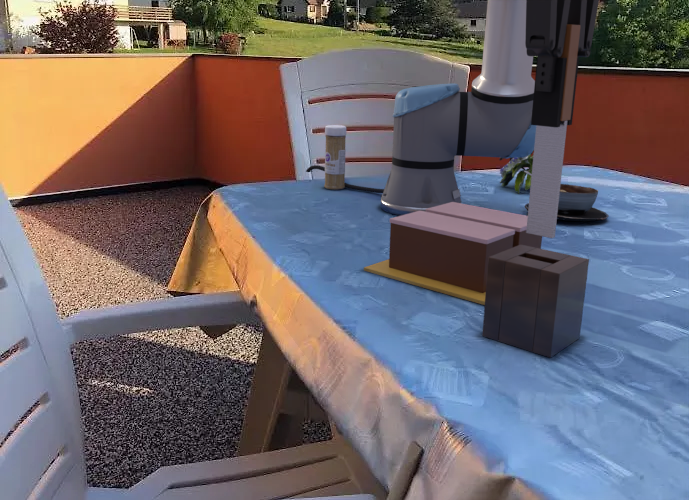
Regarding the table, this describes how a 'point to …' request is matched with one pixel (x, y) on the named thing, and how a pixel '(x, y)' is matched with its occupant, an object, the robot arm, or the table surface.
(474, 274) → the cake
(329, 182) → the sprinkles bottle
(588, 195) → the soup bowl
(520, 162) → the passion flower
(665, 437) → the table surface
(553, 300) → the knife block
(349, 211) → the table surface
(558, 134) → the knife
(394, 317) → the table surface
